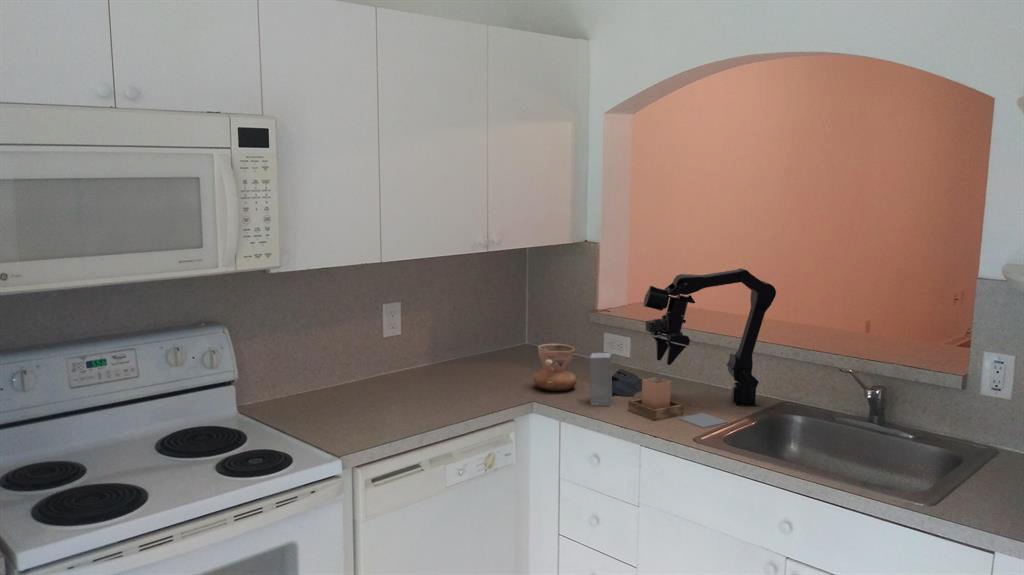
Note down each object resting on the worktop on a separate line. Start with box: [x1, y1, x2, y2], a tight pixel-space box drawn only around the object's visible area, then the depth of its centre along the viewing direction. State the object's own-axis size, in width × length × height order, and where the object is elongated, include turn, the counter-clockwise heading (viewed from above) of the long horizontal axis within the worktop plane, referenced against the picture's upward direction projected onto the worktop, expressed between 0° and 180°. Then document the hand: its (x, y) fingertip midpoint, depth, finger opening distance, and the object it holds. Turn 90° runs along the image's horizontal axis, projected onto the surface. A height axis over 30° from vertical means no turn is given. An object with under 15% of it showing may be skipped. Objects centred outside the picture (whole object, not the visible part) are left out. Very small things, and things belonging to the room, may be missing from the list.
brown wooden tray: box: [627, 397, 684, 422], centre depth 243 cm, size 12×12×4 cm
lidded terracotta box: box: [641, 376, 672, 410], centre depth 242 cm, size 6×6×10 cm
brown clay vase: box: [533, 343, 578, 392], centre depth 270 cm, size 18×14×14 cm
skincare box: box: [589, 352, 613, 407], centre depth 253 cm, size 8×7×16 cm
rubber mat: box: [678, 412, 729, 429], centre depth 236 cm, size 10×10×1 cm
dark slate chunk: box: [612, 368, 643, 398], centre depth 271 cm, size 15×22×5 cm
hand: (663, 362), depth 251 cm, fingers open, 9 cm apart
